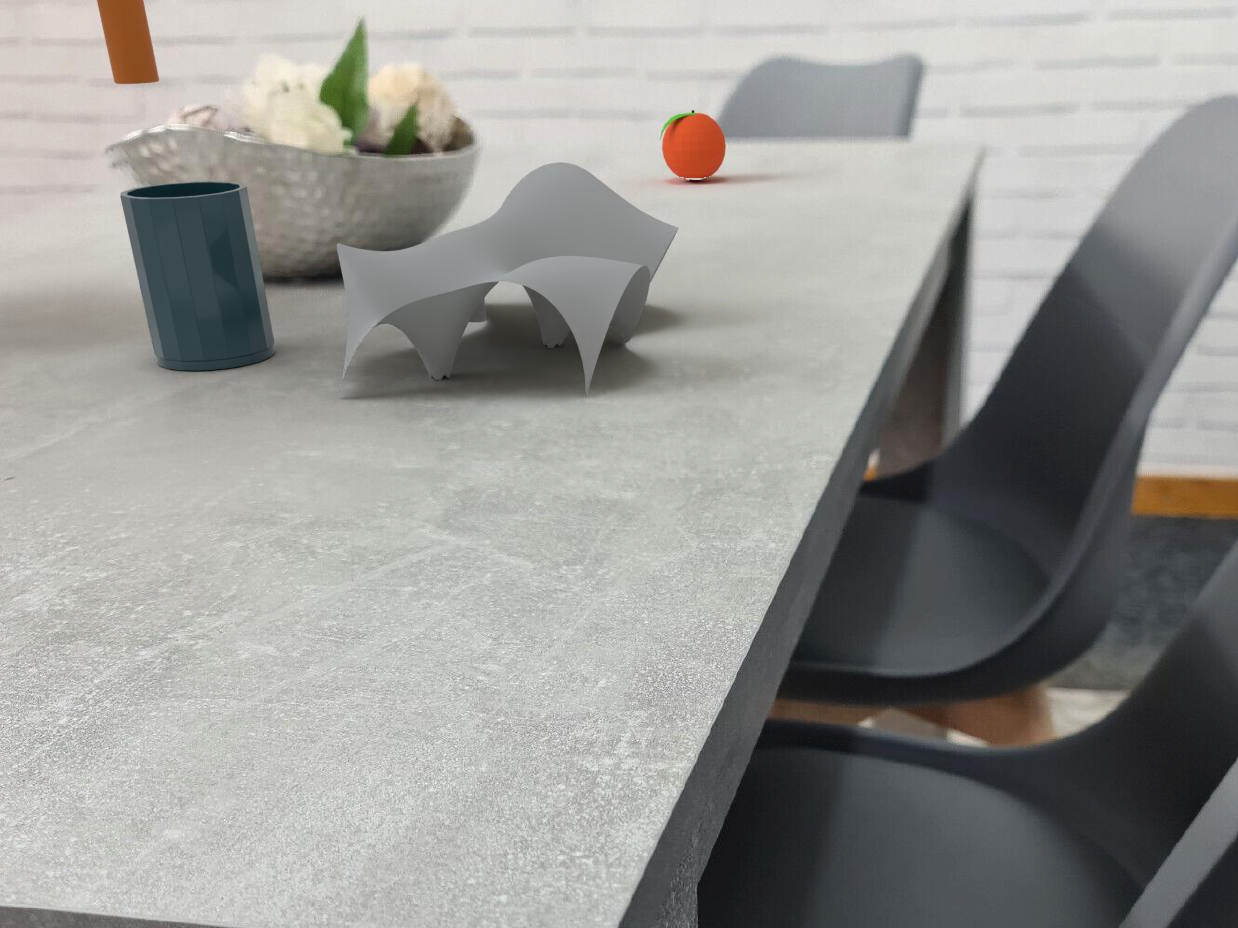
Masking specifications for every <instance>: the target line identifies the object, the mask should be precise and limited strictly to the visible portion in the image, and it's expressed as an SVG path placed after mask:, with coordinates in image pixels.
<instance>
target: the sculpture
mask: <svg viewBox="0 0 1238 928" xmlns="http://www.w3.org/2000/svg"><path fill="white" fill-rule="evenodd" d="M679 228H680V227H678V226H676V225H672V224H670V223H667V222H665V221H662V220H660V219H658V218H655V217H654V216H652V215H650V214H648V213H646V212H644V211H643V210H641V209H640V208H638V207H637V206H635V205H633V204H632V203H631V202H629V201H628V200H626V199H625V198H624V197H622V196H621V195H619V193H617V192H615V191H614V190H613V189H612V188H610V187H609V186H608V185H607V184H605V183H604V182H603V181H602V180H600V179H599V178H598V177H596V176H595V175H593V173H591V172H590V171H588V170H587V169H585V168H584V167H581V166H579V165H576V164H574V163H569V162H561V161H560V162H551V163H546V164H544V165H541V166H539V167H536V168H535V169H533V170H532V171H530V172H528V173H527V174H526V175H525V176H524V177H523V178H521V179H520V180H519V182H517V183H516V184H515V186H513V188H512V189H511V190H510V192H508V195H507V196H506V198H505V199H504V201H503V202H502V204H501V206H500V207H499V209H498V210H497V211H496V212H495V213H494V214H493V215H491V216H489V217H488V218H486V219H485V220H482V221H480V222H478V223H476V224H472V225H470V226H466V227H463V228H460V229H457V230H452V231H450V232H447V233H443V234H441V235H437V236H436V237H434V238H431V239H429V240H426V241H424V242H422V243H419V244H417V245H413V246H410V247H406V248H403V249H396V250H388V251H387V250H386V251H385V250H384V251H383V250H371V249H363V248H357V247H353V246H349V245H346V244H342V243H339V242H338V243H337V244H336V251H337V256H338V260H339V265H340V269H341V274H342V275H341V276H342V280H343V285H344V286H343V287H344V293H345V294H344V295H345V302H346V304H345V305H346V326H347V327H346V328H347V329H346V347H345V356H344V364H343V370H342V375H341V379H340V380H341V381H340V385H339V389H338V394H339V392H340V390H341V387H342V383H343V380H344V378H345V375H346V372H347V369H348V367H349V365H350V362H351V360H352V358H353V356H354V355H355V353H356V351H357V350H358V348H359V346H360V345H361V344H362V342H363V340H364V339H365V338H366V337H367V335H368V334H369V333H370V332H371V331H372V330H374V329H375V328H376V327H378V326H380V325H390V326H393V327H395V328H397V329H398V330H399V331H401V332H402V333H403V334H404V335H405V337H406V338H407V339H408V340H409V342H411V344H412V345H413V347H414V348H415V350H416V352H417V353H418V355H419V357H420V359H421V361H422V363H423V365H424V367H425V369H426V371H427V373H428V376H429V378H430V379H431V378H433V379H434V380H436V381H439V380H440V381H441V380H442V379H443V378H444V376H445V377H446V378H448V379H449V378H451V374H452V370H453V366H454V362H455V358H456V355H457V353H458V350H459V345H460V343H461V340H462V338H463V335H464V333H465V331H466V328H467V327H468V324H469V323H485V322H486V321H487V313H486V302H485V301H486V300H485V298H486V296H487V295H488V294H489V293H490V291H492V289H494V287H496V286H497V284H499V283H500V282H501V283H503V282H504V283H513V284H518V285H520V286H522V287H523V289H524V291H525V292H526V294H527V296H528V298H529V300H530V302H531V304H532V307H533V309H534V312H535V315H536V318H537V322H538V325H539V330H540V334H541V340H542V347H545V346H546V347H547V348H549V349H550V348H551V349H552V348H553V349H554V348H555V347H556V346H557V345H558V346H559V347H561V346H562V344H563V343H564V341H565V340H566V338H567V337H568V335H569V334H570V332H571V333H572V334H573V337H574V339H575V342H576V344H577V348H578V351H579V354H580V358H581V362H582V368H583V374H584V382H585V383H584V385H585V397H586V398H587V396H588V393H589V390H590V385H591V382H592V379H593V375H594V372H595V368H596V365H597V362H598V359H599V356H600V353H601V350H602V347H603V344H604V341H605V338H606V335H607V332H608V330H609V328H610V324H611V325H612V326H613V327H614V328H615V329H616V330H617V331H618V333H619V334H620V336H621V337H622V339H623V341H624V343H625V344H627V343H629V342H630V340H631V339H632V338H633V336H634V334H635V332H636V330H637V328H638V326H639V323H640V321H641V318H642V316H643V314H644V313H643V312H644V309H645V306H646V302H647V301H648V296H649V291H650V285H651V282H652V281H653V280H654V277H655V275H656V273H657V271H658V269H659V267H660V266H661V264H662V262H663V260H664V258H665V256H666V254H667V252H668V251H669V248H670V246H671V245H672V243H673V241H674V239H675V236H676V235H677V233H678V230H679Z"/></svg>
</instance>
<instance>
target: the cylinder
mask: <svg viewBox="0 0 1238 928" xmlns="http://www.w3.org/2000/svg"><path fill="white" fill-rule="evenodd" d="M96 3H97V8H98V12H99V17H100V22H101V27H102V30H103V35H104V40H105V45H106V49H107V50H106V51H107V54H108V59H109V62H110V68H111V72H112V77H113V82H114V83H115V84H117V85H138V84H139V85H140V84H151V83H157V82H159V81H160V75H159V72H158V67H157V62H156V57H155V51H154V48H153V42H152V37H151V33H150V27H149V23H148V22H149V21H148V16H147V12H146V7H145V2H144V0H96Z"/></svg>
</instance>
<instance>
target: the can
mask: <svg viewBox="0 0 1238 928" xmlns="http://www.w3.org/2000/svg"><path fill="white" fill-rule="evenodd" d="M119 197H120V202H121V207H122V211H123V216H124V220H125V224H126V229H127V233H128V239H129V243H130V248H131V251H132V257H133V261H134V267H135V269H136V275H137V279H138V284H139V288H140V289H139V290H140V293H141V299H142V302H143V307H144V312H145V316H146V317H145V318H146V320H147V321H146V322H147V325H148V330H149V335H150V340H151V344H152V349H153V353H154V356H155V360H156V363H157V365H158V366H159V367H161V368H164V369H168V370H174V371H186V372H187V371H188V372H199V371H200V372H202V371H203V372H205V371H216V370H226V369H233V368H238V367H239V368H240V367H244V366H249V365H253V364H256V363H260V362H262V361H265V360H267V359H269V358H271V357H272V356H274V354H275V353H276V347H275V339H274V333H273V328H272V321H271V316H270V310H269V305H268V298H267V292H266V288H265V287H266V286H265V281H264V276H263V270H262V266H261V265H262V264H261V260H260V254H259V249H258V247H259V246H258V241H257V238H256V231H255V226H254V219H253V213H252V208H251V203H250V197H249V192H248V186H247V184H245V183H241V182H236V181H222V180H221V181H220V180H206V181H205V180H204V181H202V180H201V181H200V180H199V181H198V180H197V181H182V182H181V181H179V182H168V183H160V184H159V183H158V184H152V185H145V186H138V187H133V188H130V189H127V190H124V191H121V192H120V195H119Z"/></svg>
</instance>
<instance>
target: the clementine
mask: <svg viewBox="0 0 1238 928" xmlns="http://www.w3.org/2000/svg"><path fill="white" fill-rule="evenodd" d="M660 131H661V133H660V135H659V140H661V139H662V142H661V143H662V145H661V150H662V156H663V159H664V161H665V163H666V166H667V167H668V168H669V170H670V171H671V172H672V173H673V174H674V175H675V176H677V177H678V176H679V177H678V178H680V177H684V178H704V177H708V178H710V177H712V176H713V175H714V174H716V172H718V171H719V170H720V168H721V166H722V165H723V163H724V159H725V157H726V150H727V149H726V148H727V146H726V138H725V135H724V132H723V129H722V128H721V126H720V125H719V124H718V122H717V121H716V120H715V119H713V118H712V117H711V116H710V115H708V114H706V113H700V112H695V110H694V109H692V110H691V112H684V113H678V114H675V115H673V116H672V117H670V118H669V119H668V120H667V121H666V122H665V124H664V125H663V126H662V129H661V130H660ZM662 136H663V137H662ZM709 176H710V177H709Z"/></svg>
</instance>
